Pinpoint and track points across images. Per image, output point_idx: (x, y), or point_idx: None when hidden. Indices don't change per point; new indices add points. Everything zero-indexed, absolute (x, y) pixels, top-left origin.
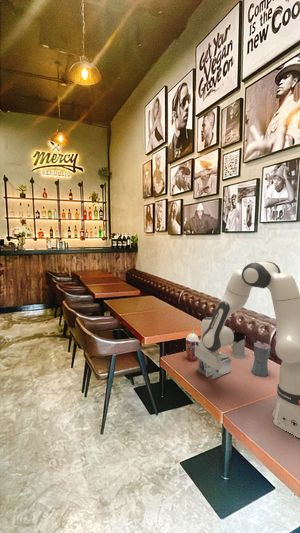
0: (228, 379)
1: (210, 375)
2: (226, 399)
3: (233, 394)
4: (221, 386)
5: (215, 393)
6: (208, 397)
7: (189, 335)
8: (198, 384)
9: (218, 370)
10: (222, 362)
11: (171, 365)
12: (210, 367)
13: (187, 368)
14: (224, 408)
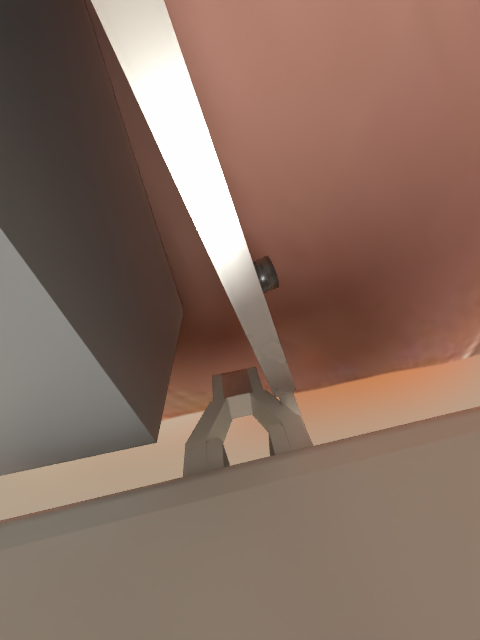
0: (281, 114)
1: (171, 273)
2: (437, 309)
3: (448, 242)
4: (339, 270)
5: (369, 336)
6: (370, 371)
7: None
8: (263, 378)
9: (270, 263)
10: (176, 50)
11: None
12: (298, 409)
13: None
14: (459, 345)
